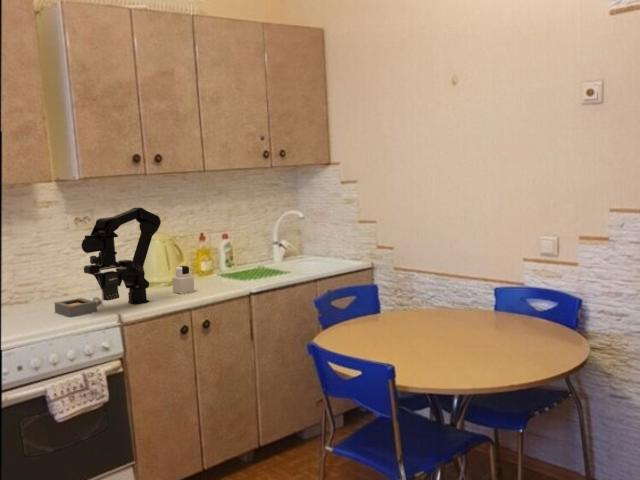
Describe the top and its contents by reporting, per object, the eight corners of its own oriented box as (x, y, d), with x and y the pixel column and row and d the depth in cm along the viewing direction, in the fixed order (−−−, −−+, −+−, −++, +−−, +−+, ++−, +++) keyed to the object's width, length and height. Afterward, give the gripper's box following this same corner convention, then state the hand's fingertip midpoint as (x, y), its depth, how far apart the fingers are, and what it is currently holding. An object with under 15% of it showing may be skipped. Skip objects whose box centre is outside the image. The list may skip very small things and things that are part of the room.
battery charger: (107, 301, 244) (104, 273, 242) (101, 300, 246) (99, 272, 245) (122, 298, 249) (120, 270, 248) (116, 297, 252) (114, 270, 250)
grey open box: (81, 307, 255) (80, 297, 255) (97, 311, 246) (96, 302, 245) (55, 312, 247) (54, 302, 247) (70, 317, 238) (69, 307, 237)
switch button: (78, 308, 250) (78, 302, 250) (85, 309, 246) (84, 304, 246) (66, 310, 247) (66, 304, 246) (73, 312, 243) (72, 306, 242)
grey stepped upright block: (186, 290, 284) (184, 264, 283) (194, 291, 279) (193, 265, 278) (172, 292, 279) (171, 266, 278) (181, 294, 274) (179, 268, 273)
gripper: (119, 245, 257) (122, 281, 259) (76, 251, 244) (79, 289, 246) (132, 247, 250) (135, 284, 252) (88, 253, 236) (92, 292, 238)
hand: (110, 287), depth 247 cm, fingers closed on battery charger, 7 cm apart
